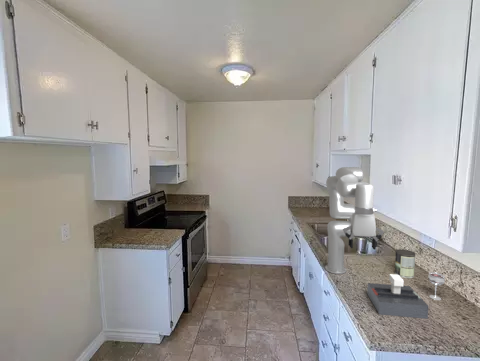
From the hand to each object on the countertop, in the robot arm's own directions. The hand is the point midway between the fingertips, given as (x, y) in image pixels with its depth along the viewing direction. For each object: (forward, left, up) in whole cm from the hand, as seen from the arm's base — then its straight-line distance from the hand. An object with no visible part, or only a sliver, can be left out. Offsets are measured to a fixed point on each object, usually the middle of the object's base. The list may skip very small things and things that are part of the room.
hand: (362, 247), depth 120 cm
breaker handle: (-7, +18, -24) cm, 31 cm away
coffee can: (-44, +37, -30) cm, 65 cm away
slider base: (-7, +18, -30) cm, 36 cm away
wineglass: (-18, +41, -30) cm, 54 cm away
